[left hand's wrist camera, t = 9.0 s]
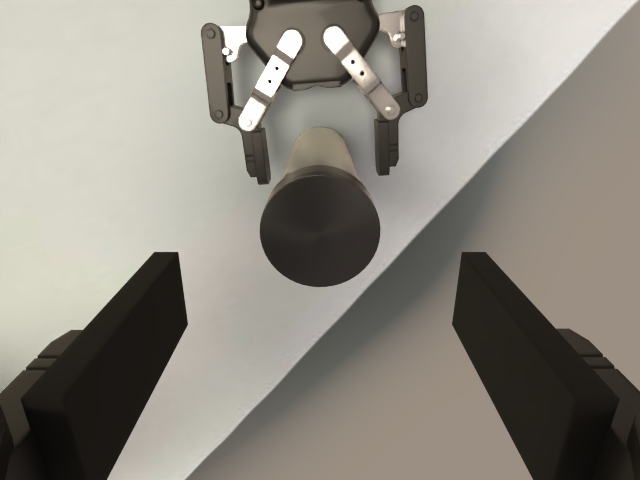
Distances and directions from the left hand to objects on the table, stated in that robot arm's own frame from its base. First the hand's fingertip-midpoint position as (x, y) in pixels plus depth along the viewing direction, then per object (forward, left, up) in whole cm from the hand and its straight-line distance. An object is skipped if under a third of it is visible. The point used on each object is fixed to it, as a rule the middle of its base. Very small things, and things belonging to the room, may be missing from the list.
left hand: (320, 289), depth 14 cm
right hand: (0, 0, -18) cm, 18 cm away
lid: (0, 0, -5) cm, 5 cm away
